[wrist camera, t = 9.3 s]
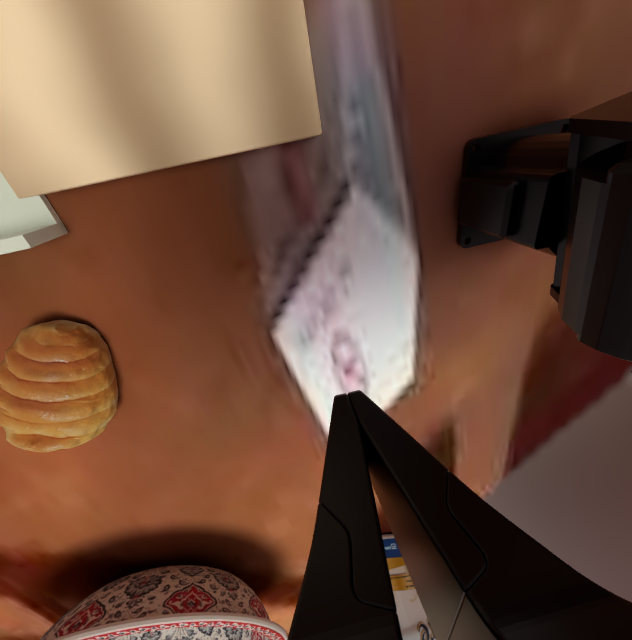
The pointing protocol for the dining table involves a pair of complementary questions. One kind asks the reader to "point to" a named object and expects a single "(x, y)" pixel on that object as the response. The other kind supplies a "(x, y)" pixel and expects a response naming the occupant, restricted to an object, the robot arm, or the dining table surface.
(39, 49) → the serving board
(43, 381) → the pastry
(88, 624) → the ceramic bowl
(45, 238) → the tray
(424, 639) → the beverage bottle
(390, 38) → the dining table surface
